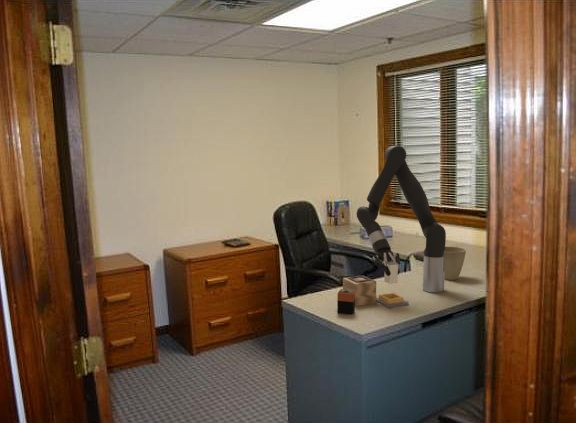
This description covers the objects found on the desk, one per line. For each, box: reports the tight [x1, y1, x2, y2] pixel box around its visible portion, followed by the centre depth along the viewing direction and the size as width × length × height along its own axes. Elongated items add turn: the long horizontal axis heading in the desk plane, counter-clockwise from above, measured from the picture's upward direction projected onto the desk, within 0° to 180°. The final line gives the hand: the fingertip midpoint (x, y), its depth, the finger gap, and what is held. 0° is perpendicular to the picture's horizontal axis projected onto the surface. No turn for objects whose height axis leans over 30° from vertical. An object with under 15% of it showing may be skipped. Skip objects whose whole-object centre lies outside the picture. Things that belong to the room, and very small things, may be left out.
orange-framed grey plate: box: [376, 292, 410, 309], centre depth 220 cm, size 11×11×3 cm
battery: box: [336, 288, 356, 316], centre depth 207 cm, size 4×7×10 cm, turn 71°
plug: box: [383, 260, 399, 285], centre depth 218 cm, size 4×4×9 cm
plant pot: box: [443, 246, 467, 281], centre depth 260 cm, size 15×15×16 cm
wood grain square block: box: [342, 275, 377, 307], centre depth 223 cm, size 11×11×11 cm
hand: (393, 274), depth 217 cm, fingers closed on plug, 4 cm apart
